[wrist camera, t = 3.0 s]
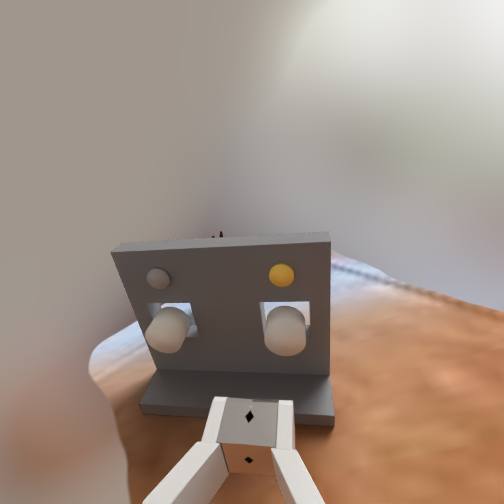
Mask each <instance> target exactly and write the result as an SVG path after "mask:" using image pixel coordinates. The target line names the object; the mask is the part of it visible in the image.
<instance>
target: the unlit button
mask: <svg viewBox="0 0 504 504" xmlns="http://www.w3.org/2000/svg"><path fill="white" fill-rule="evenodd" d="M190 326H191V321H190V319H189V317H188V315H187V314H186V313H185V312H183V311H182V310H180V309H178V308H175V307H165V308H162V309H161V310H160V311H159V312H158V313H157V315H156V316H155V318H154V319H153V321H152V322H151V324H150V325H149V327H148V329H147V330H146V332H145V338H146V341H147V342H148V344H149V345H150V346H151V347H152V348H154V349H155V350H157V351H159V352H163V353H174V352H177V351H178V350H179V349H180V348H181V346H182V344H183V341H184V339H185V337H186V335H187V333H188V331H189V329H190Z"/></svg>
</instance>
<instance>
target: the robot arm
mask: <svg viewBox="0 0 504 504" xmlns="http://www.w3.org/2000/svg"><path fill="white" fill-rule="evenodd" d="M228 472H230V473H244V474H255V475H263V476H270V477H276V481H277V483H278V486H279V488H280V491H281V493H282V496H283V498H284V501H285V503H286V504H325V503H324V501H323V499H322V497H321V495H320V493H319V491H318V489H317V488H316V486H315V484H314V482H313V480H312V478H311V476H310V474H309V472H308V471H307V469H306V467H305V465H304V463H303V461H302V459H301V457H300V455H299V454H298V452H297V450H295V422H294V407H293V400H279V399H246V398H230V397H214V399H213V401H212V404H211V408H210V412H209V415H208V419H207V422H206V426H205V429H204V433H203V436H202V440H201V442H196V443H195V444H194V446H193V447H192V448H191V449H190V450H189V451H188V452H187V453H186V454H185V455H184V457H183V458H182V459H181V460H180V461H179V462H178V463H177V464H176V465H175V467H174V468H173V469H172V470H171V471H170V472H169V473H168V474H167V475H166V476H165V478H164V479H163V480H162V481H161V482H160V483H159V484H158V485H157V486H156V487H155V489H154V490H153V491H152V492H151V493H150V494H149V495H148V496H147V497H146V499H145V500H144V501H143V503H142V504H210V502H211V501H212V499H213V498H214V496H215V494H216V493H217V491H218V490H219V488H220V487H221V485H222V484H223V482H224V481H225V479H226V478H227V476H228V475H229V473H228Z"/></svg>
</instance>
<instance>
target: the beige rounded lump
mask: <svg viewBox="0 0 504 504" xmlns="http://www.w3.org/2000/svg"><path fill="white" fill-rule="evenodd" d="M264 342H265V345H266V347H267V348H268V349H269V350H270V351H271V352H273V353H275V354H277V355H281V356H293V355H296V354H298V353H300V352H301V351H302V350H303V349H304V348H305V345H306V334H305V318H304V316H303V314H302V313H301V312H300V311H299V310H297V309H296V308H293V307H290V306H279V307H276V308H274V309H273V310H271V311H270V312H269V314H268V316H267V323H266V330H265V337H264Z"/></svg>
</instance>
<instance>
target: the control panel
mask: <svg viewBox="0 0 504 504" xmlns="http://www.w3.org/2000/svg"><path fill="white" fill-rule="evenodd" d="M111 255H112V257H113V260H114V262H115V265H116V267H117V270H118V272H119V275H120V278H121V280H122V283H123V285H124V287H125V290H126V293H127V295H128V298H129V300H130V303H131V305H132V308H133V310H134V313H135V315H136V318H137V320H138V323H139V325H140V328H141V330H142V333H143V335H144V338H145V332H146V330H147V329H148V327H149V325H150V324H151V322H152V321H153V319H154V318H155V316H156V315H157V313H158V312H159V311H160V310H161V306H160V303H190V305H191V308H192V312H193V316H194V319H195V323H196V325H191V326H190V329H189V331H188V333H187V335H186V337H185V339H184V341H183V344H182V346H181V348H180V349H179V350H178V351H177V352H174V353H163V352H159V351H157V350H155V349H154V348H152V347H151V346H150V345H149V344H148V342H147V341H146V343H147V345H148V348H149V350H150V353H151V355H152V358H153V360H154V363H155V365H156V368H157V370H156V372H155V374H154V376H153V378H152V379H151V381H150V383H149V385H148V387H147V389H146V391H145V393H144V395H143V397H142V399H141V400H140V402H139V406H140V408H141V410H142V412H143V414H155V415H170V416H185V417H200V418H208V415H209V412H210V408H211V404H212V401H213V399H214V397H230V398H246V399H279V400H293V407H294V422H295V424H304V425H319V426H334V424H335V414H334V406H333V398H332V390H331V382H330V271H331V241H330V237H329V233H328V232H313V233H293V234H276V235H258V236H238V237H220V238H203V239H185V240H165V241H148V242H129V243H121V244H120V245H119V246H117V247H116V248H115V249H114V250H112V251H111ZM295 301H309V311H310V325H305V334H306V345H305V348H304V349H303V350H302V351H301V352H300V353H298V354H296V355H293V356H281V355H277V354H275V353H273V352H271V351H270V350H269V349H268V348H267V347H266V345H265V342H264V337H265V330H266V319H265V311H264V303H263V302H295ZM145 340H146V338H145Z"/></svg>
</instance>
